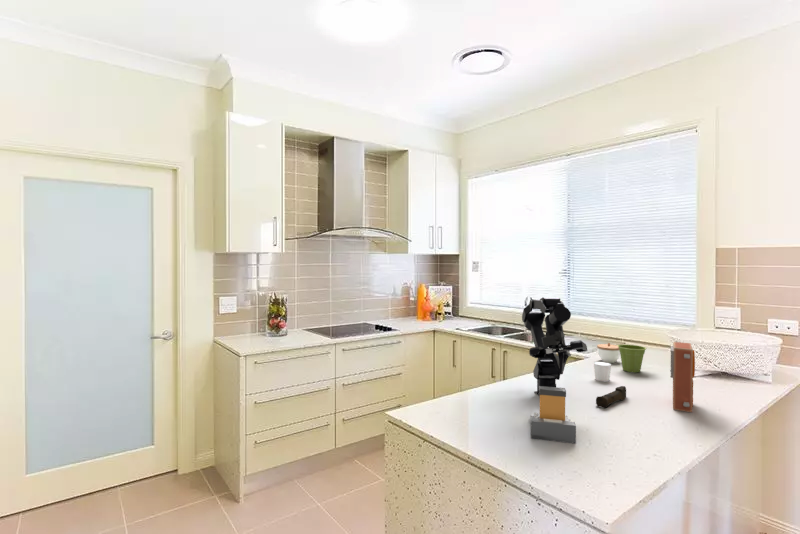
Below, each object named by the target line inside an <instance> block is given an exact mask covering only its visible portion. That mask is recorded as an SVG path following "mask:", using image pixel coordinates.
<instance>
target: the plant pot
mask: <svg viewBox="0 0 800 534" xmlns="http://www.w3.org/2000/svg"><path fill="white" fill-rule="evenodd" d="M617 346H618V347H619V351H620V361H621V368H622V370H623V371H624V372H625V371H626V372H628V373H641V370H642V364H643V360H644V355H645V352H646V351H647V347H645V346H640V345H638V344H637V345H634V344H618V345H617Z"/></svg>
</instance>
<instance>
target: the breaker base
mask: <svg viewBox="0 0 800 534" xmlns="http://www.w3.org/2000/svg"><path fill="white" fill-rule="evenodd" d="M576 424H577V423H576V421H571V419H569V415H566V414H565V421H562V420H553V419H542V418H540V415H539V412H533V415H530V439H532V440H533V439H534V440H542V441H550V442H552V441H553V442H560V443H569V444H577V425H576Z"/></svg>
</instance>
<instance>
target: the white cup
mask: <svg viewBox="0 0 800 534" xmlns="http://www.w3.org/2000/svg"><path fill="white" fill-rule="evenodd" d="M593 369H594V379H595V380H596V381H598V382H609V381H610V379H611V370H612V363H608V362H603V361H594V362H593Z"/></svg>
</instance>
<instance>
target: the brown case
mask: <svg viewBox="0 0 800 534" xmlns="http://www.w3.org/2000/svg"><path fill="white" fill-rule="evenodd" d="M672 343H673V344H672V345H670V369H669V370H670V378H672V409H673V410H674V411H681V412H687V413H693V407H694V380H693V379H694V378H695V374H696V373H695V372H696V369H695V368H696V366H695V365H696V356H695V355H696V354H695V350H694V349H693V346H692V343H690V342H678V341H673V342H672Z"/></svg>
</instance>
